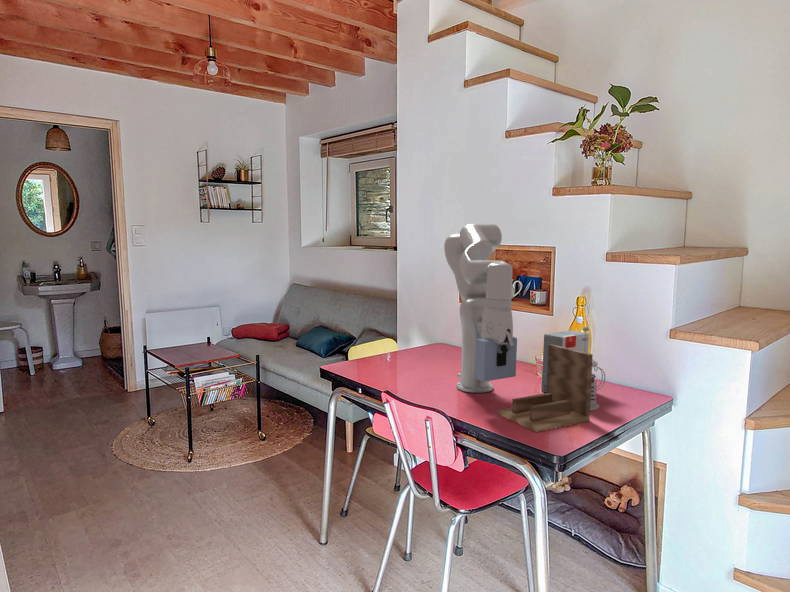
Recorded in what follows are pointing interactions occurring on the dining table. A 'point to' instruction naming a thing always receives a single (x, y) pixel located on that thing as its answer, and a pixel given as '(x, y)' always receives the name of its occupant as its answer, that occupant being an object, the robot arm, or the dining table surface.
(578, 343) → the hard drive box
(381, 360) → the dining table surface
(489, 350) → the book
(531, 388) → the dining table surface
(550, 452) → the dining table surface
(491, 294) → the robot arm
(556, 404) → the book rack
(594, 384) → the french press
